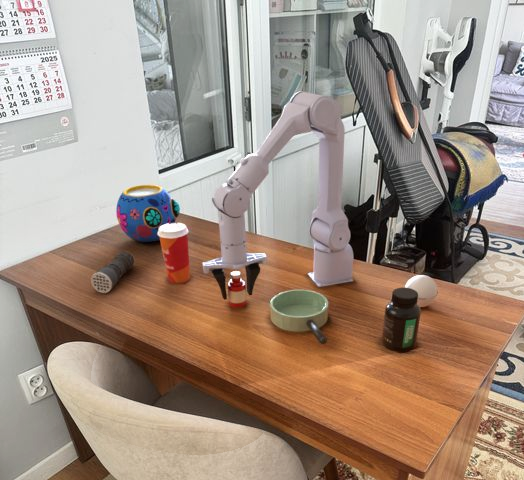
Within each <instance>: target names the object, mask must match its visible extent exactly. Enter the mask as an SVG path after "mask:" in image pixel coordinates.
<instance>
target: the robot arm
mask: <svg viewBox="0 0 524 480" xmlns="http://www.w3.org/2000/svg"><path fill="white" fill-rule="evenodd" d="M340 107H341V105H340V104H339V103H338V102H337V101H336V100H335V99H333V98H332V97H331V96H329V95H321V94H316V93H312V92H308V91H305V90H300V91H297V92H296V93H294V94H293V95H292V97H291V98H290V100H289V101H288V102H287V103H286V104H285V105H284V107H283V110H282V113H281V115H280V117H279V119H278V120H277V122H276V123H275V124H274V126H273V127H272V129H271V130H270V132H269V133H268V135H267V136H266V138H265V139H264V141H263V142H262V144H261V145H260V147H259V148H258V149H257V151H256V152H255V153H251V154H247V155H246V156H245V157H241V158H240V160H239V165H238V166H237V168H236V169H235V171H233V173H232V174H231V175H230V176H229V177H227V178H226V180H225V183H223V184H220V185H219V186H218V187H217V188H216V189H215V192H214V193H213V197H212V198H211V201H212V205H213V206H214V207H215V208H216V209H217V217H218V230H219V231H218V232H219V241H220V253H221V257H217V258H214V259H211V260H208V261H203V262H202V264H201V265H202V271H203V273H204V274H210V273H212V276H213V278H214V279H215V280H216V282H217V284H218V286H219V290H220V292H221V297H222V299H223V300H224V301H225V300H228V296H227V295H228V293H227V288H226V274H225V271H224V270H229V269H233V270H241V269H244V268H245V275H246V293H247V294H248V296H253V292H254V287H255V284H256V281H257V278H258V276H259V274H260V273H261V267H260V265H267V264H268V261H267V259H268V257H267V255H266V253H264V252H262V253H261V252H260V253H248V250H247V249H248V248H247V232H246V231H247V230H246V229H247V227H246V215H245V214H246V212H247V211H248V210H249V207H250V201H251V198H252V195H254V193H255V192H256V190H257V189H258V188H259V187H260V185H261V184H262V182H263V181H264V180H265V179H266V178H267V176H268V175H269V174H270V172H269V171H270V170H269V169H270V167H269V164H270V163H271V162H272V161H273V160H274V159H275V158H276V157H277V155H279V153H280V152H281V151H282V150H283V149H284V148H285V146H286V145H287V144H288V143H289V142H290V141H291V139H292V138H293V137H295V136H296V135H302V134H308V133H311V132H312V133H313V134H314V135H315V136H316V137H318V175H317V176H318V177H317V179H318V180H317V181H318V182H317V183H318V184H317V187H318V188H317V192H318V193H317V208H315V209H314V210H313V211H312V212H311V213H312V214H311V221H310V223H309V226H308V234H309V236H310V238H311V239H313V241H312V242H313V243H312V244H313V272H308V273H307V275H308V276H309V278H310V279H311V280H312V281H313V283H315V285H316V286H317V287H319V288H320V287H326V286H327V287H328V286H332V285H333V286H334V285H338V284H344V283H345V284H346V283H351V282H354V279H353V271H354V259H355V258H354V251H353V248H352V246H351V244H349V243H350V240H351V230H350V228H349V219H348V217H347V215H346V214H345V212H344V210H343V208H342V200H343V197H342V196H343V179H344V176H343V174H344V157H345V156H344V152H345V134H346V133H345V125H344V122H343V120H342V116H341V114H340V111H341V110H340V109H341V108H340Z"/></svg>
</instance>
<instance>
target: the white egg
mask: <svg viewBox="0 0 524 480" xmlns="http://www.w3.org/2000/svg"><path fill="white" fill-rule="evenodd" d="M404 287H405V288H410V289H414V290H415V291H417V293H418V302H417V304H418V305H419V307H420V308H425V307H428V306H429V305H431V304H433V302H434V301H435V300H436V299H437V297H438V293H439V291H438V285H437V283H436V281H435V280H434V279H433V278H432V277H430V276H429V275H425V274H417V275H414V276H412V277H410V278H409V279H408V281H407V282H406V283H405V284H404ZM439 297H441V298H444V296H442V295H439ZM445 298H446V299H448V298H449V297H447V296H445Z"/></svg>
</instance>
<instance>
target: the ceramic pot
mask: <svg viewBox="0 0 524 480" xmlns="http://www.w3.org/2000/svg"><path fill="white" fill-rule="evenodd" d="M115 209H116V219H117V222H118V224H119V226H120V228H121V230H122V231H123V233H124V234H125V235H126V236H127V237H128V238H129V239H132V240H135V241H138V242H144V243H151V242H158V241H160V237H159V236H158V231H159V227H160V226H162V225H164V224H167V223H169V224H171V223H175V224H176V220H177V219H178V217H179V215H180V212H181V206H180V204H179V202H178V201H177V200H175V199H174V198H173V197H172V196H171V195H170V194H169V193H168V192H167V190H166V189H164V188H163V187H161V186H159V185H157V184H141V185H135V186H131V187H128V188H126V189H125V190H123V191H122V193H121V194H120V196H119V198H118V199H117V203H116V208H115Z"/></svg>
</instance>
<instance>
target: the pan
mask: <svg viewBox="0 0 524 480" xmlns="http://www.w3.org/2000/svg"><path fill="white" fill-rule="evenodd" d="M329 305H330V304H329V300H328V298H326V296H325V295H323V294H322V293H319V292H317V291H314V290H310V289H290V290H285V291H282V292H279V293H278V294H275V295H274V296H272V298H271V300H270V302H269V306H270V307H269V308H270V309H269V311H270V321H271V322H272V324H274V326H276V327H277V328H279V329H281V330H284V331H288V332H295V333H296V332H297V333H301V332H311V330H310V329H309V327H308V326H307V321H308V320H313V321H314V323H315V324H316V325H317V327H318V328H319V329H320V328H321V327H323V326H324V325H325V324H326V323H327V321H328V318H329Z"/></svg>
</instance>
